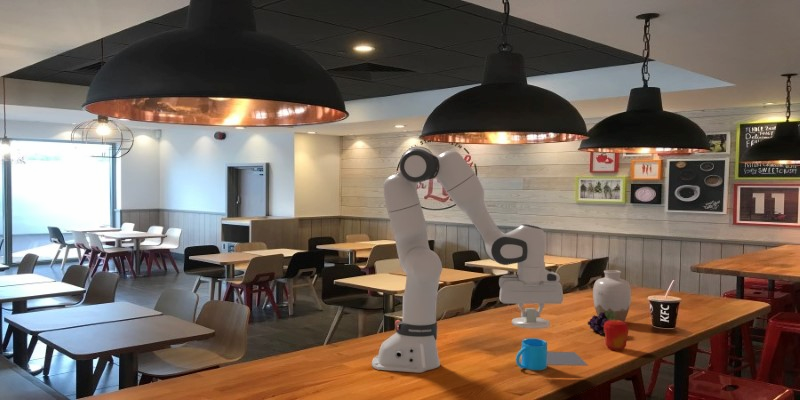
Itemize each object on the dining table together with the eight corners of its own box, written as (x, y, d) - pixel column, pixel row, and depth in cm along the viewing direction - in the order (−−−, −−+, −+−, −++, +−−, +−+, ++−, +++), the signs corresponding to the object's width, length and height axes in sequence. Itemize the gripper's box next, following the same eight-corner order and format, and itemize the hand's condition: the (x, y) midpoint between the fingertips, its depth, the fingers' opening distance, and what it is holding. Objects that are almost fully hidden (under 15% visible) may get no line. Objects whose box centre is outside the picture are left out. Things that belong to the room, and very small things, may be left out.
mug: (533, 360, 206) (534, 336, 205) (551, 368, 200) (552, 343, 199) (507, 367, 200) (507, 343, 199) (525, 376, 193) (526, 351, 192)
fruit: (596, 337, 256) (629, 334, 245) (582, 336, 249) (615, 334, 238) (593, 312, 258) (626, 309, 248) (579, 311, 252) (612, 307, 241)
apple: (633, 350, 224) (633, 318, 223) (616, 353, 220) (617, 320, 219) (614, 345, 231) (615, 313, 231) (598, 347, 227) (599, 315, 227)
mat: (539, 366, 203) (539, 364, 203) (529, 352, 219) (529, 351, 219) (588, 367, 203) (588, 365, 203) (574, 353, 219) (574, 351, 219)
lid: (515, 328, 193) (515, 312, 193) (509, 320, 205) (509, 305, 205) (553, 328, 193) (553, 312, 193) (544, 320, 205) (545, 305, 205)
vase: (632, 321, 272) (634, 270, 271) (628, 328, 258) (629, 274, 257) (595, 317, 279) (597, 267, 279) (589, 324, 265) (590, 271, 265)
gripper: (500, 275, 196) (500, 318, 196) (564, 276, 196) (564, 319, 196) (497, 272, 202) (497, 314, 203) (559, 273, 202) (559, 315, 202)
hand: (530, 316), depth 199 cm, fingers closed on lid, 3 cm apart
